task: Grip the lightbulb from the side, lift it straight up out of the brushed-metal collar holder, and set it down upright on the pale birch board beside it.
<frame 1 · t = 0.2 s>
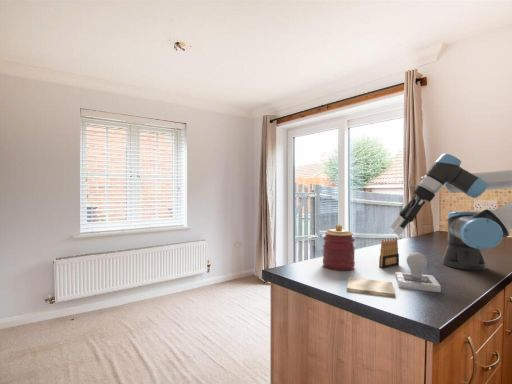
hand: (394, 231, 122), 15 cm above the worktop, tool tilted 35°, fingers open, 13 cm apart
lightbulb: (416, 284, 100), resting in collar holder
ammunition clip: (389, 266, 123), on the worktop
collar holder: (416, 284, 100), on the worktop
birch board: (370, 287, 96), on the worktop
canister: (338, 267, 122), on the worktop
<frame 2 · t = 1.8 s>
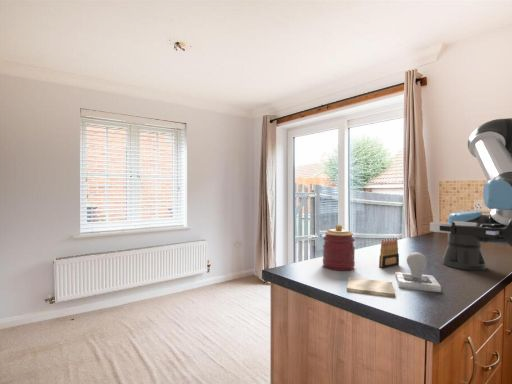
hand: (442, 225, 93), 21 cm above the worktop, tool horizontal, fingers open, 13 cm apart
nothing on the worktop moved.
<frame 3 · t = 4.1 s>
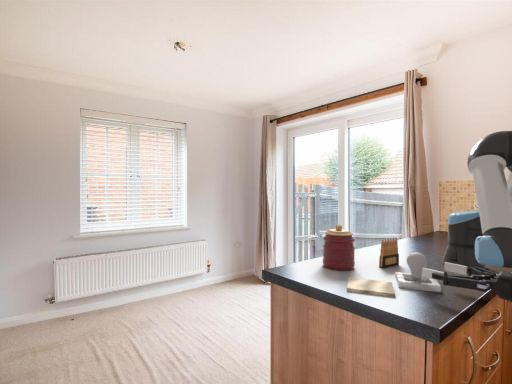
hand: (434, 268, 94), 7 cm above the worktop, tool horizontal, fingers open, 13 cm apart
nothing on the worktop moved.
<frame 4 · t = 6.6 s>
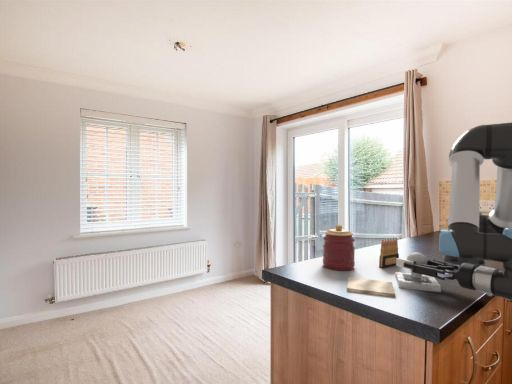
hand: (402, 260, 104), 7 cm above the worktop, tool horizontal, fingers closed on lightbulb, 6 cm apart
lightbulb: (416, 284, 100), resting in collar holder, touching gripper
everything else where it was.
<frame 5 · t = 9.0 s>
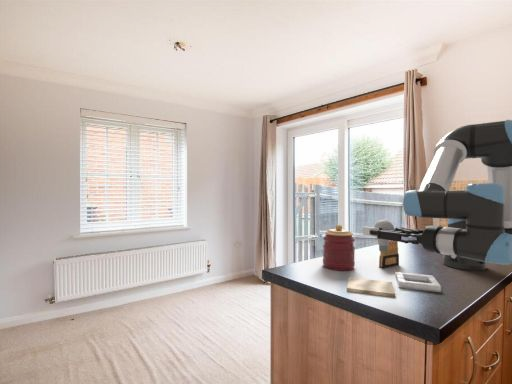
hand: (370, 229, 100), 19 cm above the worktop, tool horizontal, fingers closed on lightbulb, 6 cm apart
lightbulb: (383, 253, 96), point 11 cm above the worktop, touching gripper
everything else where it was.
when the fingers open (9 cm above the worktop, at t = 11.7 s): lightbulb drops 1 cm, resting on birch board.
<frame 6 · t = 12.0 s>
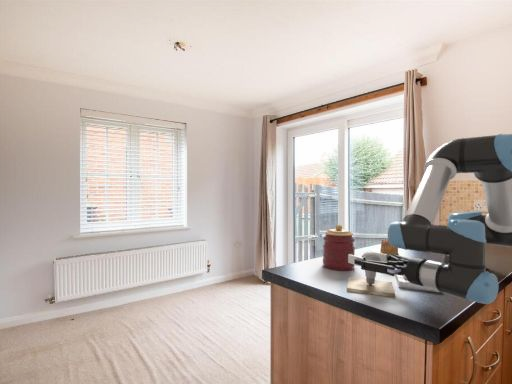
hand: (359, 256, 99), 9 cm above the worktop, tool horizontal, fingers open, 10 cm apart
lightbulb: (370, 285, 96), point 1 cm above the worktop, touching birch board
everything else where it was.
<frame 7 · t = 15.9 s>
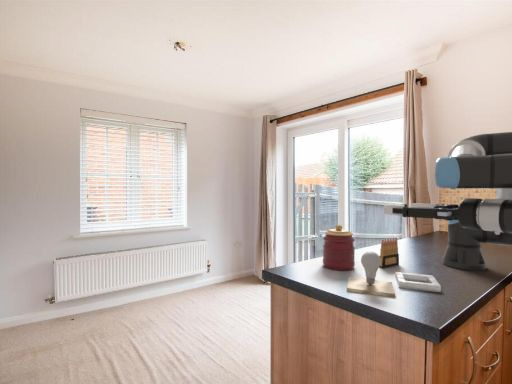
hand: (398, 208, 87), 27 cm above the worktop, tool horizontal, fingers open, 13 cm apart
nothing on the worktop moved.
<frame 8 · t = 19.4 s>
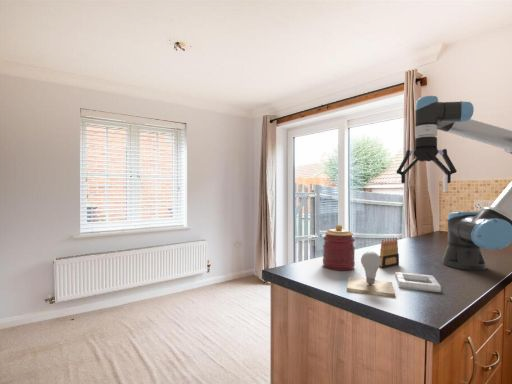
hand: (424, 191, 114), 32 cm above the worktop, tool pointing down, fingers open, 13 cm apart
nothing on the worktop moved.
at the end: lightbulb inside the target area on the birch board (0.2 cm from its centre), point 0.8 cm above the birch board's base; lightbulb tilted 0°; the gripper is holding nothing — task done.
